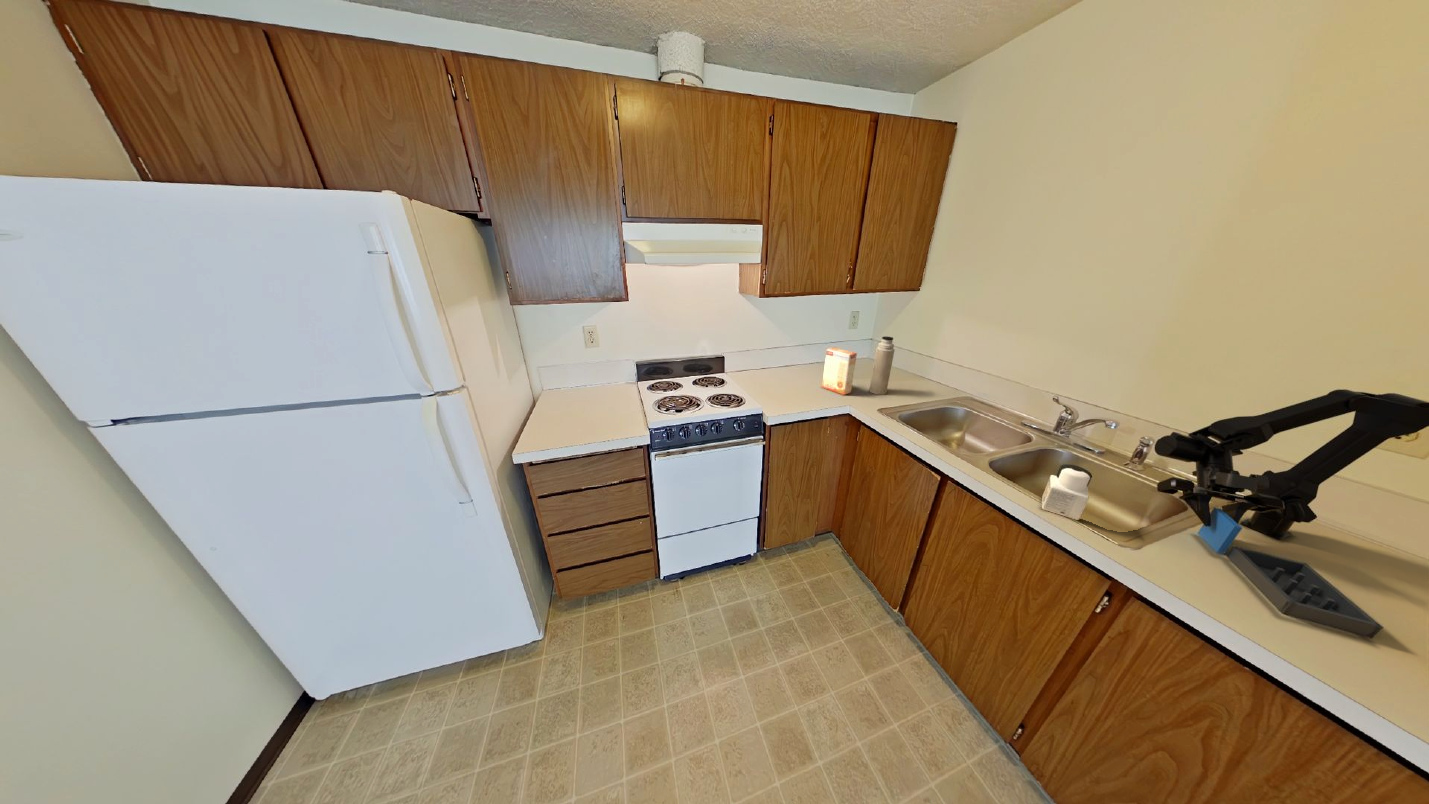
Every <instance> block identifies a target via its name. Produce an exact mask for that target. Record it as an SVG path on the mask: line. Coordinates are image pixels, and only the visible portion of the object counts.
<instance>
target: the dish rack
mask: <svg viewBox="0 0 1429 804" xmlns="http://www.w3.org/2000/svg"><path fill="white" fill-rule="evenodd" d="M1225 557H1226V558H1227V559H1228V560H1229V561H1230V562H1231V563H1232V564H1233V565H1234V566H1235V568H1237V569H1238V570H1239V571H1240V572H1241V573H1242V575H1244V576H1245V578H1246V579H1248V581H1250V582H1251V584H1252V585H1253V586H1254V587H1255V588H1256V589H1257V590H1258V591H1259V592H1260V593H1261V594H1262V595H1263V596H1264V597H1265V598H1266V599H1267V600H1268V601H1269V602H1270V603H1271V604H1272V606H1274V608H1276V610H1277V611H1279V613H1281V614H1282V615H1285V616H1289V617H1292V618H1296V619H1299V620H1303V621H1306V622H1309V623H1314V624H1317V625H1321V626H1325V627H1329V628H1331V629H1336V630H1340V631H1342V632H1347V633H1350V634H1354V635H1357V636H1361V637H1364V638H1368V639H1374V638H1375V637H1376V636H1377V635H1378V634H1379V633H1380V632H1381V631H1383V629H1384V627H1383V626H1382V625H1381V624H1380V623H1379V622H1377V620H1375V619H1374V618H1373V617H1371V615H1369V614H1368V613H1367V612H1365V611H1364V610H1363V609H1362V608H1361V607H1360V606H1358V605H1357V604H1356V603H1355V602H1353V601H1352V600H1351V599H1350V598H1349V597H1348V596H1347V595H1345V594H1344V593H1343V592H1342V591H1341V590H1339V589H1338V588H1337V587H1336V586H1335V585H1333V584H1332V582H1330V581H1328V580H1327V578H1325V577H1324V576H1322V574H1320V573H1319V572H1318V571H1317V570H1315V569H1314V568H1313V567H1312V566H1311V565H1309V564H1308V563H1307V562H1303V561H1299V560H1298V561H1297V560H1294V559H1290V558H1287V557H1282V556H1277V555H1273V554H1268V553H1264V552H1261V551H1256V550H1251V549H1248V548H1244V547H1239V546H1235V545H1232V546H1231V548H1230V549H1229V551H1227V554H1226V555H1225Z"/></svg>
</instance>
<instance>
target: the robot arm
mask: <svg viewBox="0 0 1429 804" xmlns="http://www.w3.org/2000/svg"><path fill="white" fill-rule="evenodd" d="M1350 413H1354V415H1353V420H1352V424H1351V425H1350V426H1349V427H1347V428H1346V429H1344V430H1343V431H1341V432H1340V433H1339V434H1337V435H1336V436H1334V437H1333V438H1332V439H1330V440H1328V442H1326V443H1325V444H1323V445H1321V446H1320V447H1319V448H1318V449H1316V450H1315V451H1313V452H1312V453H1310V454H1309V455H1308V456H1306V457H1304V459H1302V460H1300V461H1299V462H1297V463H1296V464H1294V466H1292V467H1291V468H1288V470H1283V471H1282V470H1281V471H1277V472H1274V471H1272V470H1266V471H1263V473H1262V474H1253V473H1251V474H1250V475H1248V476H1247V475H1242V474H1241V473H1240V472H1239V470H1234V459H1233V457H1236V456H1241V455H1243V454H1244V452H1243V451H1245V450H1249V449H1252V448H1255V447H1257V446H1260V445H1262V444H1265V443H1267V442H1269V440H1271V439H1272V438H1273V437H1274V436H1275V435H1278V434H1280V433H1283V432H1286V431H1291V430H1293V429H1298V428H1300V427H1304V426H1307V425H1311V424H1315V423H1318V422H1322V421H1325V420H1329V419H1333V418H1336V417H1339V416H1343V415H1346V414H1350ZM1428 427H1429V401H1426V400H1422V399H1419V398H1415V397H1411V396H1407V395H1404V394H1399V393H1395V392H1390V393H1389V392H1386V393H1382V394H1380V393H1378V394H1376V393H1372V392H1371V393H1370V392H1365V391H1354V390H1351V389H1346V388H1345V389H1344V388H1343V389H1339V388H1338V389H1333V390H1332V391H1329V392H1328V393H1327V394H1324V395H1320V396H1317V397H1314V398H1310V399H1308V400H1304V401H1300V402H1297V403H1295V404H1291V405H1288V406H1285V407H1282V408H1277V409H1275V410H1271V411H1268V412H1265V413H1262V414H1257V415H1251V416H1250V415H1245V416H1244V415H1242V416H1234V417H1229V418H1223V419H1219V420H1216V421H1214V422H1212V423H1211V424H1209V425H1207V426H1205V427H1202V428H1200V429H1197V430H1194V431H1192V432H1190V433H1188V434H1187V435H1186V434H1182V433H1180V432H1177V431H1172V432H1171V433H1170V434H1168V435H1164V436H1162V437H1160V438H1158V439H1157V440H1156V442H1155V444H1154V452H1155V454H1156V455H1157V456H1160V457H1164V458H1168V459H1172V460H1176V461H1180V462H1185V463H1195V470H1194V471H1191V472H1192V477H1193V476H1194V477H1196V485H1195V482H1194V481H1193V480H1190V479H1184V478H1180V477H1175V476H1172V477H1169V478H1166V479H1162V480H1159V481H1158V482H1157V484H1156V490H1157V492H1158V493H1163V494H1167V495H1175V494H1177V493H1179V491H1180V492H1182V495H1179V496H1178V499H1179V500H1182V501H1184V502H1185V503H1186V505H1188V507H1189V508H1190V509H1191V510H1192V511H1193V512H1194V514H1195V515H1196V516H1197V518H1198V519H1199V520H1200V521H1201V523H1202V525H1203V524H1204V525H1205V526H1207V527H1208V526H1211V516H1210V513H1211V509H1210V503H1211V501H1212V498H1214V499H1218V500H1219V499H1220V500H1224V501H1226V504H1225V505H1221V509H1222V510H1223V511H1224V512H1225V513H1226V514H1227V515H1228V516H1229V517H1231V518H1232V519H1233V520H1234V521H1235V522H1236V523H1237V524H1238V525H1239V524H1240V525H1242V526H1245V527H1247V528H1249V529H1251V530H1253V531H1256V532H1258V533H1260V534H1263V535H1265V536H1268V537H1270V538H1273V539H1275V540H1277V541H1281V540H1283V539H1286V538H1288V537H1291V536H1293V533H1292V532H1290V531H1289V530H1290V529H1291V527H1292V526H1294V524H1295V523H1298V524H1301V523H1306V524H1310V523H1311V522H1313V521H1314V520H1317V518H1318V516H1317V514H1316V513H1315V512H1314V511H1313V509H1312V508H1311V507H1310V506H1309V505H1310V504H1311V503H1312V502H1313V501H1315V499H1316V498H1317V495H1318V491H1319V487H1320V485H1321V484H1322V483H1324V482H1326V481H1327V480H1328V479H1330V478H1331V477H1333V476H1335V475H1336V474H1337V473H1339V472H1341V471H1342V470H1344V469H1345V468H1347V467H1348V466H1350V465H1351V464H1353V463H1354V462H1356V461H1357V460H1358V459H1360V458H1361V457H1363V456H1365V455H1366V454H1368V453H1369V452H1371V451H1372V450H1373V449H1375V448H1377V447H1378V446H1380V445H1381V444H1382V443H1384V442H1385V441H1387V440H1390V439H1392V438H1397V437H1402V436H1407V435H1412V434H1416V433H1418V432H1420V431H1422V430H1425V429H1426V428H1428ZM1245 490H1246V491H1250V492H1251V494H1245V495H1243V494H1239V493H1245ZM1247 511H1251V512H1253V513H1252V515H1251V516H1250V518H1248V519H1245V520H1241V519H1242V518H1243V516H1244V515H1245V514H1246V512H1247Z"/></svg>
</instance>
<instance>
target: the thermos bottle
mask: <svg viewBox="0 0 1429 804" xmlns="http://www.w3.org/2000/svg"><path fill="white" fill-rule="evenodd" d="M893 340H894V337H892V336H888V335H887V336H882V337H881V341H880V342H879V343H878V346H877V347H876V351H875V357H874V361H873V366H872V373H871V379H870V383H869V384H870V385H869V392H870V393H871V394H874V395H875V394H876V395H886V394H887V391H888V385H889V381H890V376H891V371H892V365H893V361H894V360H893V359H894V355H895V348H894V347H895V344H894V343H893Z"/></svg>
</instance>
